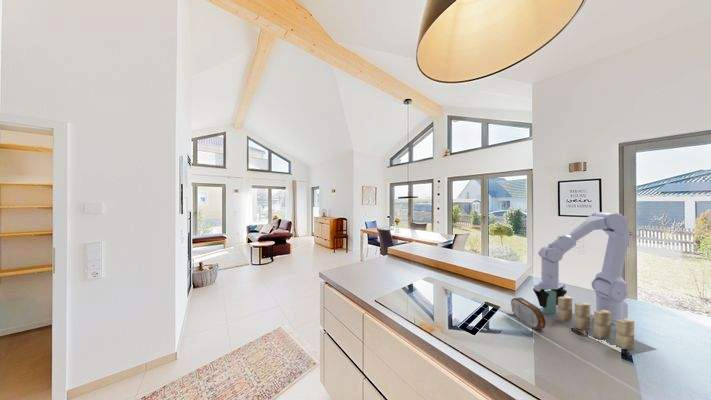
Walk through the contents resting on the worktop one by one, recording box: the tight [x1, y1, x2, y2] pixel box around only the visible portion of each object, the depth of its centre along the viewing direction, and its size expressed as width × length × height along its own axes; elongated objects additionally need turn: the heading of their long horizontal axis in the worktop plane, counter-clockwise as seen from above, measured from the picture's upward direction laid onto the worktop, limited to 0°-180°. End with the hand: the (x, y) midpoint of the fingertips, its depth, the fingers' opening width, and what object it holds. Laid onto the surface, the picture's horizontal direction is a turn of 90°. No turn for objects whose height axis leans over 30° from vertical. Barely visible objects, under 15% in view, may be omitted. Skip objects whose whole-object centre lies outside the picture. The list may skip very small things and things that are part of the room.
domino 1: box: [542, 289, 557, 314], centre depth 100 cm, size 5×2×9 cm, turn 102°
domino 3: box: [574, 302, 591, 329], centre depth 88 cm, size 5×2×9 cm, turn 102°
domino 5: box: [615, 318, 635, 349], centre depth 76 cm, size 5×2×9 cm, turn 102°
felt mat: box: [538, 305, 658, 356], centre depth 89 cm, size 14×31×1 cm, turn 13°
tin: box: [510, 296, 547, 330], centre depth 92 cm, size 15×3×8 cm, turn 2°
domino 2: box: [557, 295, 573, 321], centre depth 94 cm, size 5×2×9 cm, turn 102°
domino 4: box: [593, 310, 612, 339], centre depth 82 cm, size 5×2×9 cm, turn 103°
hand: (549, 305), depth 100 cm, fingers open, 7 cm apart
